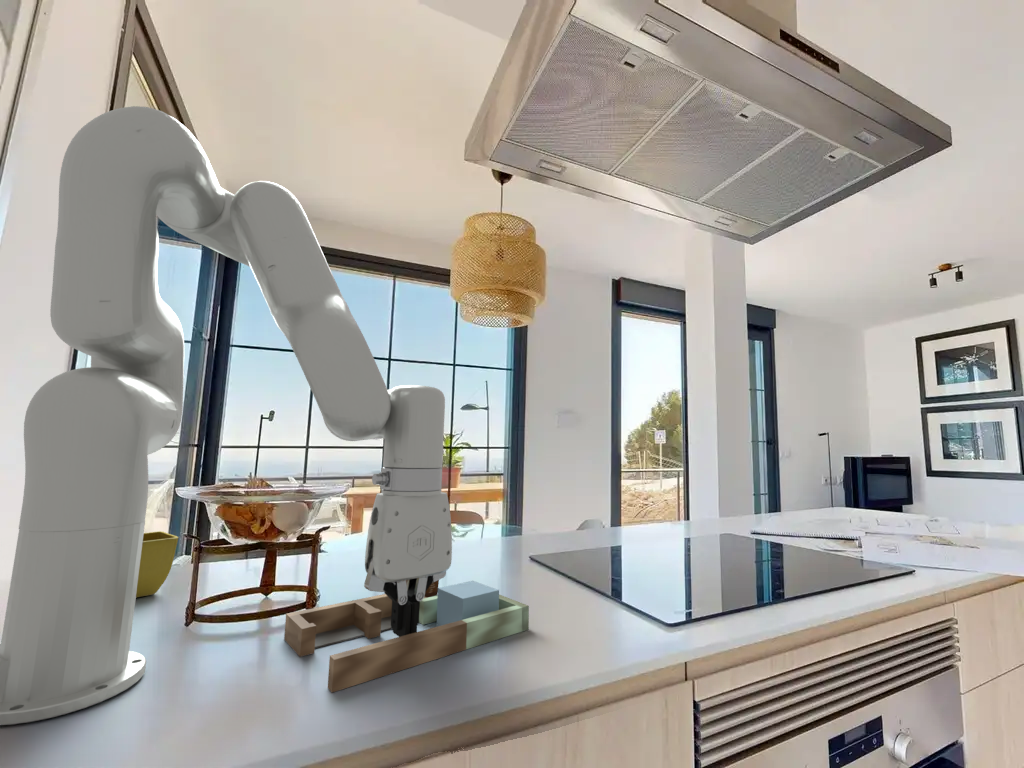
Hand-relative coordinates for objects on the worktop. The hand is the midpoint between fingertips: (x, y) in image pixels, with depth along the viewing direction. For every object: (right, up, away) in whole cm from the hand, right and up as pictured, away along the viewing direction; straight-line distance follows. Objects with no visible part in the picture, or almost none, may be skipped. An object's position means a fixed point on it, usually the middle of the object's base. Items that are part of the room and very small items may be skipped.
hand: (404, 634), depth 57 cm
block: (+7, -2, +6) cm, 10 cm away
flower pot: (-47, -3, +17) cm, 50 cm away
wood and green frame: (0, -2, +3) cm, 4 cm away
